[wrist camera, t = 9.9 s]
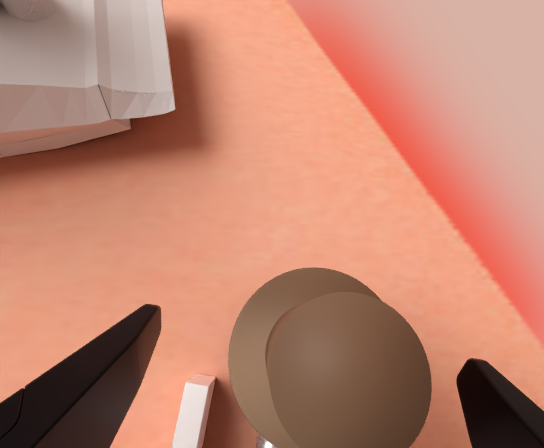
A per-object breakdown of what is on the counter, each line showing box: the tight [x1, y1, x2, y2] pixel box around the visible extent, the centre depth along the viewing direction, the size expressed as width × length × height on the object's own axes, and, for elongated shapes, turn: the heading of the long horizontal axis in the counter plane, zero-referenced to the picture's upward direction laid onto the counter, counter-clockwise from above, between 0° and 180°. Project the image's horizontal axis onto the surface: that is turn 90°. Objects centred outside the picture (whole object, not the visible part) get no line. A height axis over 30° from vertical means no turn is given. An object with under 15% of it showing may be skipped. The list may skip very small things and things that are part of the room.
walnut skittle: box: [229, 268, 431, 448], centre depth 11 cm, size 4×4×12 cm
